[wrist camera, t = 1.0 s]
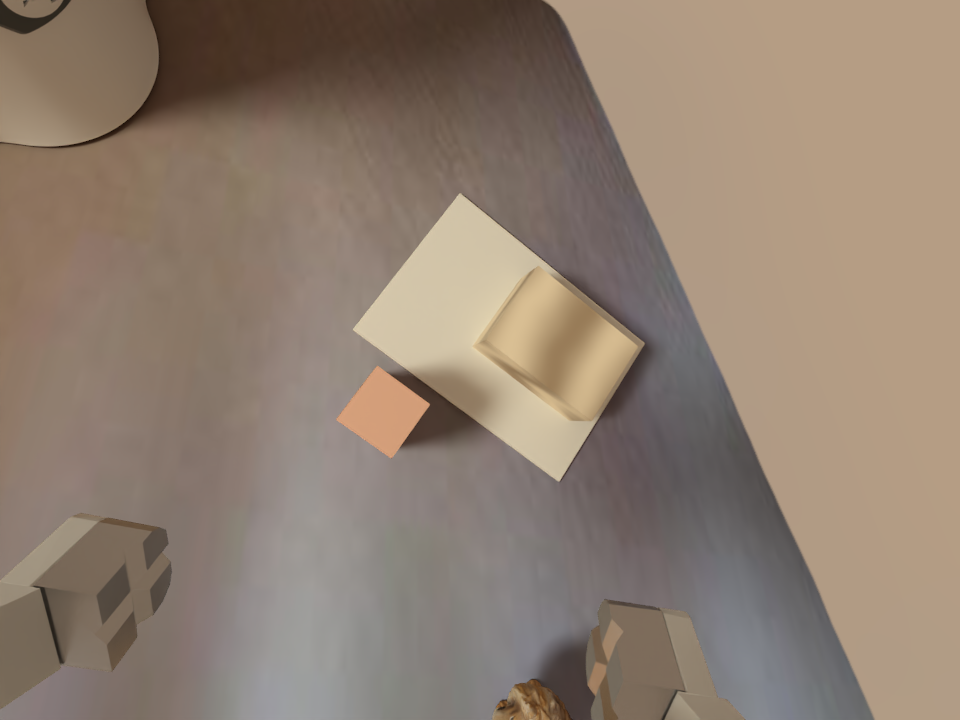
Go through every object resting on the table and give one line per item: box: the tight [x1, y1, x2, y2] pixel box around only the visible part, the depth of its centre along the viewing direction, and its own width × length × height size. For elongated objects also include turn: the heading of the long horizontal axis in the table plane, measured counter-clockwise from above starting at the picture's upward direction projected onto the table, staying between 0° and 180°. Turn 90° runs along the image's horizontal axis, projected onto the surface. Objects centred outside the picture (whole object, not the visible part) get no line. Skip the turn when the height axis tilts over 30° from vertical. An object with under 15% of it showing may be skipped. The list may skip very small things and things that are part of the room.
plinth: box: [472, 266, 638, 421], centre depth 42 cm, size 10×7×4 cm
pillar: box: [336, 366, 430, 459], centre depth 37 cm, size 4×4×8 cm
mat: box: [353, 194, 645, 482], centre depth 44 cm, size 20×14×1 cm
